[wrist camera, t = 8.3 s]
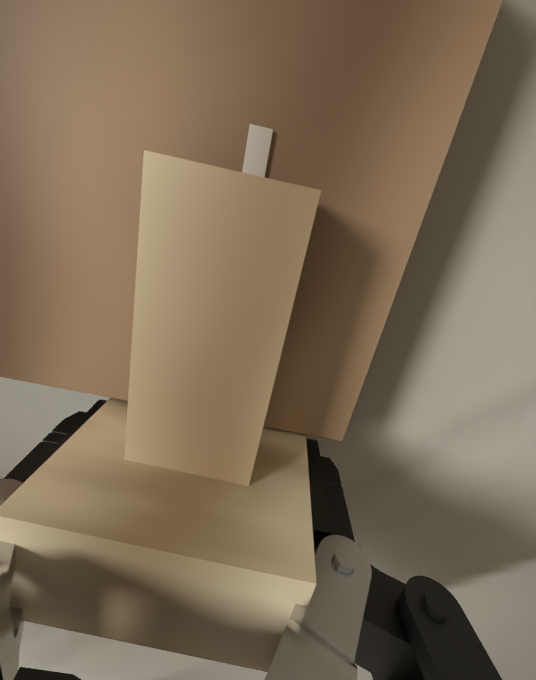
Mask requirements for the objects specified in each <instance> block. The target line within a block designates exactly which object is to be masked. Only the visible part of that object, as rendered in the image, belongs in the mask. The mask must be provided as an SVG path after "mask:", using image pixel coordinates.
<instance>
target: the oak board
mask: <svg viewBox="0 0 536 680" xmlns="http://www.w3.org/2000/svg"><path fill="white" fill-rule="evenodd" d="M502 1H503V0H0V377H5V378H11V379H16V380H21V381H26V382H32V383H37V384H42V385H48V386H53V387H58V388H63V389H69V390H74V391H79V392H84V393H90V394H95V395H100V396H106V397H111V398H116V399H121V400H127V401H128V393H129V377H130V361H131V345H132V329H133V314H134V298H135V282H136V266H137V250H138V235H139V219H140V203H141V187H142V171H143V156H144V150H146V151H150V152H155V153H159V154H163V155H168V156H172V157H177V158H181V159H185V160H190V161H194V162H199V163H203V164H208V165H212V166H216V167H221V168H225V169H230V170H234V171H238V172H243V173H247V174H252V175H256V176H260V177H265V178H269V179H274V180H278V181H282V182H287V183H291V184H296V185H300V186H305V187H309V188H313V189H318V190H321V193H320V198H319V202H318V206H317V210H316V214H315V218H314V222H313V226H312V230H311V234H310V238H309V242H308V246H307V251H306V255H305V259H304V263H303V267H302V271H301V275H300V279H299V283H298V287H297V291H296V295H295V299H294V304H293V308H292V312H291V316H290V320H289V324H288V328H287V332H286V336H285V340H284V344H283V348H282V353H281V357H280V361H279V365H278V369H277V373H276V377H275V381H274V385H273V389H272V393H271V397H270V401H269V406H268V410H267V414H266V418H265V422H264V427H269V428H274V429H280V430H285V431H290V432H295V433H301V434H306V435H311V436H316V437H322V438H327V439H332V440H338V441H343V438H344V435H345V433H346V430H347V427H348V424H349V422H350V419H351V416H352V413H353V411H354V408H355V405H356V402H357V400H358V397H359V394H360V391H361V389H362V386H363V383H364V380H365V378H366V375H367V372H368V369H369V367H370V364H371V361H372V358H373V356H374V353H375V350H376V347H377V345H378V342H379V339H380V336H381V334H382V331H383V328H384V325H385V323H386V320H387V317H388V314H389V312H390V309H391V306H392V303H393V301H394V298H395V295H396V292H397V290H398V287H399V284H400V281H401V279H402V276H403V273H404V270H405V268H406V265H407V262H408V259H409V257H410V254H411V251H412V249H413V246H414V243H415V240H416V238H417V235H418V232H419V229H420V227H421V224H422V221H423V218H424V216H425V213H426V210H427V207H428V205H429V202H430V199H431V196H432V194H433V191H434V188H435V185H436V183H437V180H438V177H439V174H440V172H441V169H442V166H443V163H444V161H445V158H446V155H447V152H448V150H449V147H450V144H451V141H452V139H453V136H454V133H455V130H456V128H457V125H458V122H459V119H460V117H461V114H462V111H463V108H464V106H465V103H466V100H467V97H468V95H469V92H470V89H471V86H472V84H473V81H474V78H475V75H476V73H477V70H478V67H479V64H480V62H481V59H482V56H483V53H484V51H485V48H486V45H487V42H488V40H489V37H490V34H491V31H492V29H493V26H494V23H495V20H496V18H497V15H498V12H499V9H500V7H501V4H502Z"/></svg>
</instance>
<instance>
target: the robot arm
mask: <svg viewBox="0 0 536 680" xmlns="http://www.w3.org/2000/svg"><path fill="white" fill-rule="evenodd" d="M106 402H107V401H106V400H99V401H97V402H96V403H95V404H94V406H93V407H92V408H91V409H90V410H89V411H88V412H87V413H86V412H80V411H79V412H77V413H75V414H73V415H71V416H69V417H67V418H66V419H64V420H63V421H62V422H61V423H60V424H58V425H57V426H56V427H55V428H54V429H53V430H52V433H49V434H48V435H47V436H46V437H45V438H44V439H43V442H40V443H39V444H38V445H37V446H36V447H35V448H34V449H33V450H32V451H31V452H30V453H29V454H28V455H27V456H26V457H25V458H24V459H23V460H22V461H21V462H20V463H19V464H18V465H17V466H16V467H15V468H14V469H13V470H12V471H11V472H10V473H9V474H8V475H7V476H6V477H5V478H3V479H0V506H1V505H2V504H3V503H4V502H5V501H6V500H7V499H8V498H9V497H10V496H11V495H12V494H13V493H14V492H15V491H16V490H17V489H18V488H19V487H20V486H21V485H22V484H23V483H24V482H25V481H26V480H27V479H28V478H29V477H30V476H31V475H32V474H33V473H34V472H35V471H36V470H37V469H38V468H39V467H40V466H41V465H42V464H43V463H44V462H45V461H47V460H48V459H49V458H50V457H51V456H52V455H53V454H54V453H55V452H56V451H57V450H58V449H59V448H60V447H61V446H62V445H63V444H64V443H65V442H66V441H67V440H68V439H69V438H70V437H71V436H72V435H73V434H74V433H75V432H76V431H77V430H78V429H79V428H80V427H81V426H82V425H83V424H84V423H85V422H86V421H87V420H88V419H89V418H90V417H91V416H92V415H94V414H95V413H96V412H97V411H98V410H99V409H100V408H101V407H102V406H103V405H104V404H105V403H106ZM306 442H307V456H308V470H309V485H310V499H311V513H312V527H313V541H314V555H315V569H316V587H315V589H314V592H313V594H312V597H311V599H310V602H309V604H308V606H305V605H300V604H295V606H294V609H293V611H292V614H291V616H290V618H289V621H288V623H287V626H286V628H285V631H284V633H283V636H282V638H281V641H280V643H279V646H278V648H277V651H276V653H275V655H274V658H273V660H272V663H271V665H270V668H269V670H268V673H267V675H266V678H265V680H357V666H356V665H355V663H356V664H357V665H359V666H361V667H362V668H364V669H366V670H368V671H369V672H371V674H372V677H373V680H502V679H501V677H500V675H499V673H498V672H497V670H496V668H495V666H494V665H493V663H492V661H491V659H490V657H489V656H488V654H487V652H486V650H485V649H484V647H483V645H482V643H481V642H480V640H479V638H478V636H477V635H476V633H475V631H474V629H473V627H472V626H471V624H470V622H469V620H468V619H467V617H466V615H465V613H464V612H463V610H462V608H461V607H460V605H459V603H458V602H457V600H456V599H455V598H454V596H453V595H452V594H451V593H450V592H449V591H448V590H447V589H446V588H445V587H444V586H442V585H441V584H440V583H438V582H437V581H435V580H433V579H431V578H428V577H425V576H414V577H412V578H410V579H409V580H408V582H407V583H406V584H404V583H402V582H400V581H398V580H396V579H394V578H392V577H390V576H388V575H386V574H384V573H383V572H381V571H379V570H377V569H376V568H375V567H373V566H372V565H371V564H370V562H369V559H368V557H367V555H366V554H365V552H364V551H363V550H362V548H361V547H360V546H359V545H358V544H356V543H355V540H354V536H353V532H352V528H351V523H350V519H349V515H348V511H347V506H346V502H345V498H344V497H343V495H344V493H343V489H342V486H341V480H340V476H339V472H338V469H337V468H336V466H335V465H334V463H333V462H332V461H331V459H330V458H327V457H322V456H320V453H319V447H318V442H317V440H312V439H307V438H306ZM16 561H17V559H16V551H15V544H12V543H7V542H2V541H0V680H81V679H79V678H78V677H76V676H74V675H73V674H66V673H59V672H52V671H45V670H38V669H31V668H23V667H20V668H19V670H18V667H19V649H20V642H21V636H22V631H23V625H24V618H23V609H20V608H15V607H10V606H9V600H10V589H11V583H12V578H13V574H14V570H15V565H16Z"/></svg>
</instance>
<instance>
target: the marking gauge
mask: <svg viewBox="0 0 536 680" xmlns="http://www.w3.org/2000/svg"><path fill="white" fill-rule="evenodd" d="M320 193H321V190H318V189H313V188H309V187H305V186H300V185H296V184H291V183H287V182H282V181H278V180H274V179H269V178H265V177H260V176H256V175H252V174H247V173H243V172H238V171H234V170H230V169H225V168H221V167H216V166H212V165H208V164H203V163H199V162H194V161H190V160H185V159H181V158H177V157H172V156H168V155H163V154H159V153H155V152H150V151H146V150H144V156H143V171H142V187H141V203H140V219H139V235H138V250H137V266H136V282H135V298H134V314H133V329H132V345H131V361H130V377H129V393H128V401H127V400H121V399H116V398H110V399H109V400H108V401H107V402H106V403H105V404H104V405H103V406H102V407H101V408H100V409H99V410H98V411H97V412H96V413H95V414H94V415H92V416H91V417H90V418H89V419H88V420H87V421H86V422H85V423H84V424H83V425H82V426H81V427H80V428H79V429H78V430H77V431H76V432H75V433H74V434H73V435H72V436H71V437H70V438H69V439H68V440H67V441H66V442H65V443H64V444H63V445H62V446H61V447H60V448H59V449H58V450H57V451H56V452H55V453H54V454H53V455H52V456H51V457H50V458H49V459H48V460H47V461H45V462H44V463H43V464H42V465H41V466H40V467H39V468H38V469H37V470H36V471H35V472H34V473H33V474H32V475H31V476H30V477H29V478H28V479H27V480H26V481H25V482H24V483H23V484H22V485H21V486H20V487H19V488H18V489H17V490H16V491H15V492H14V493H13V494H12V495H11V496H10V497H9V498H8V499H7V500H6V501H5V502H4V503H3V504H2V505H1V506H0V541H2V542H7V543H12V544H15V551H16V559H17V561H16V565H15V570H14V574H13V578H12V583H11V589H10V600H9V606H10V607H15V608H20V609H23V618H24V621H28V622H33V623H37V624H42V625H47V626H52V627H56V628H61V629H66V630H71V631H75V632H80V633H85V634H90V635H94V636H99V637H104V638H109V639H113V640H118V641H123V642H128V643H132V644H137V645H142V646H147V647H151V648H156V649H161V650H166V651H170V652H175V653H180V654H185V655H189V656H194V657H199V658H204V659H208V660H213V661H218V662H223V663H228V664H232V665H237V666H242V667H246V668H251V669H256V670H261V671H266V672H268V670H269V668H270V665H271V663H272V660H273V658H274V655H275V653H276V651H277V648H278V646H279V643H280V641H281V638H282V636H283V633H284V631H285V628H286V626H287V623H288V621H289V618H290V616H291V614H292V611H293V609H294V606H295V604H300V605H305V606H308V604H309V602H310V599H311V597H312V594H313V592H314V589H315V587H316V569H315V555H314V541H313V527H312V513H311V499H310V485H309V470H308V456H307V442H306V434H301V433H295V432H290V431H285V430H280V429H274V428H269V427H264V422H265V418H266V414H267V410H268V406H269V401H270V397H271V393H272V389H273V385H274V381H275V377H276V373H277V369H278V365H279V361H280V357H281V353H282V348H283V344H284V340H285V336H286V332H287V328H288V324H289V320H290V316H291V312H292V308H293V304H294V299H295V295H296V291H297V287H298V283H299V279H300V275H301V271H302V267H303V263H304V259H305V255H306V251H307V246H308V242H309V238H310V234H311V230H312V226H313V222H314V218H315V214H316V210H317V206H318V202H319V198H320Z"/></svg>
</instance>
